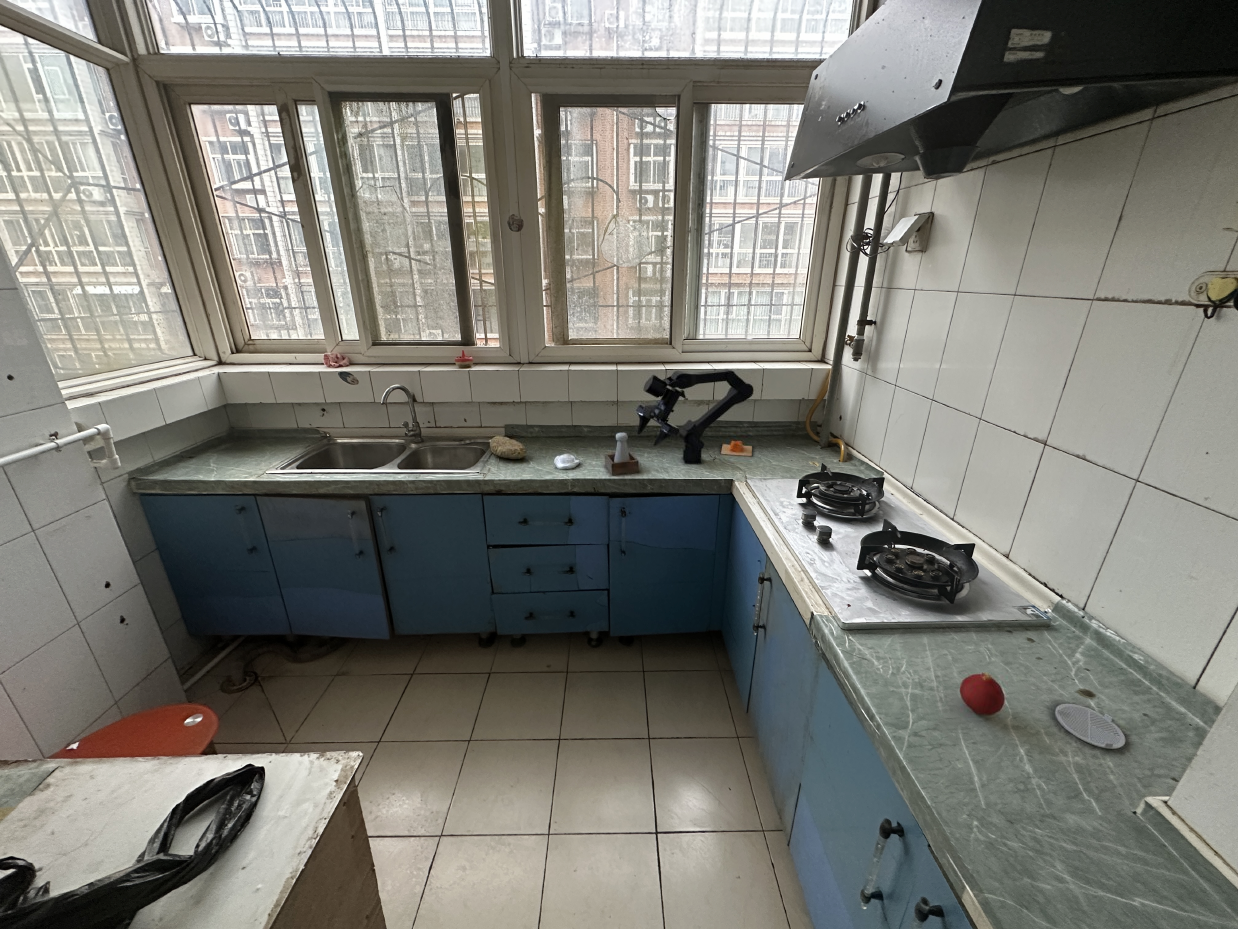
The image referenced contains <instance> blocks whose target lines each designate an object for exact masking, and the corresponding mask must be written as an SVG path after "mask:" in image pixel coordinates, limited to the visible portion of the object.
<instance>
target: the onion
mask: <svg viewBox="0 0 1238 929" xmlns="http://www.w3.org/2000/svg"><path fill="white" fill-rule="evenodd" d="M959 694H960V697H961V700H962V702H964V704H965V705H966V706H967V707H968V708H969V709H970V710H971V711H972V712H973V713H974V714H978V715H982V716H992V715H996V714H997V713H999V712H1001V710H1002V709H1003V708H1004V705H1005V701H1006V697H1005V693H1004V691H1003V689H1002V686H1001V685H1000V684H999V682H997V681H996V679H994V678H993V677H992V676H991V675H990V673H987V672H981V673H975V674H970V675H968V676H967V677H965V678H964V679H962V680H961V683H960V686H959Z"/></svg>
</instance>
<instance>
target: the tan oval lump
mask: <svg viewBox="0 0 1238 929" xmlns="http://www.w3.org/2000/svg"><path fill="white" fill-rule="evenodd" d="M489 447H490V450H491V453H493V454H494V455H495V456H496V457H497V456H498V457H500V458H503V459H510V460H511V459H512V460H516V459H517V460H520V459H522V458H524V457H525V456H526V454H527V448H526V447H525V446H524V444H522V443H521V442H519V441H517V440H515V439H513V438H512V439H511V438H509V437H507V436H503V435H497V436H494V437H493V438H491V439H490V443H489Z"/></svg>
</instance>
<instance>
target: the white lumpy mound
mask: <svg viewBox="0 0 1238 929" xmlns="http://www.w3.org/2000/svg"><path fill="white" fill-rule="evenodd" d="M553 462H554V465H555V467H556V468H557V469H558V470H570V469H574V468H575V467H576V466H578V465H579V464H580V462H581V461H580V460H579V459H576V458H575V456H574V455H573V454H571V453H564V454H561V455H556V457H555V458H554V461H553Z"/></svg>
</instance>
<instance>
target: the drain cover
mask: <svg viewBox="0 0 1238 929" xmlns="http://www.w3.org/2000/svg"><path fill="white" fill-rule="evenodd" d="M1054 714H1055V718H1056V720H1057V722H1058V723H1059V724H1060V725H1061V726H1062V727H1063V728H1064V729H1065V730H1066V731H1068V732H1069V733H1070V734H1072V735H1073V736H1074V737H1076V738H1078V739H1079V740H1081V741H1084V742H1086V743H1088V744H1090V745H1092V746H1095V747H1098V748H1102V749H1108V750H1116V749H1121V748H1122V747H1124V745H1125V743H1126V737H1125V734H1124V733H1123V731H1122V730H1121V729H1120V728H1119V726H1118V725H1117V724H1116V723H1114V722H1113V716H1111V715H1109V714H1108V713H1105V714H1104V715H1103V714H1101V713H1099V712H1098V711H1095V710H1094V709H1091V708H1088V707H1086V706H1083V705H1079V704H1074V703H1062V704H1059V705H1058V706H1056V707H1055V712H1054Z"/></svg>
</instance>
